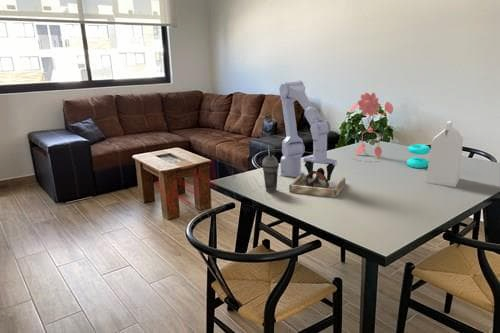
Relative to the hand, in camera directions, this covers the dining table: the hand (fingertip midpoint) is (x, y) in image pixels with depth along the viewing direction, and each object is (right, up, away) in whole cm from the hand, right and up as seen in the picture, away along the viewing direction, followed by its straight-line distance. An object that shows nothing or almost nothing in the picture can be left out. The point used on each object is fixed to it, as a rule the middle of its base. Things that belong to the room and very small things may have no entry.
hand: (319, 179), depth 167 cm
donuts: (+52, +6, +22) cm, 57 cm away
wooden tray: (-1, -4, -2) cm, 4 cm away
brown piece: (-1, -3, 0) cm, 3 cm away
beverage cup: (-21, -5, -2) cm, 22 cm away
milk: (+54, -1, 0) cm, 54 cm away
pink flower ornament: (+32, +10, +40) cm, 52 cm away
